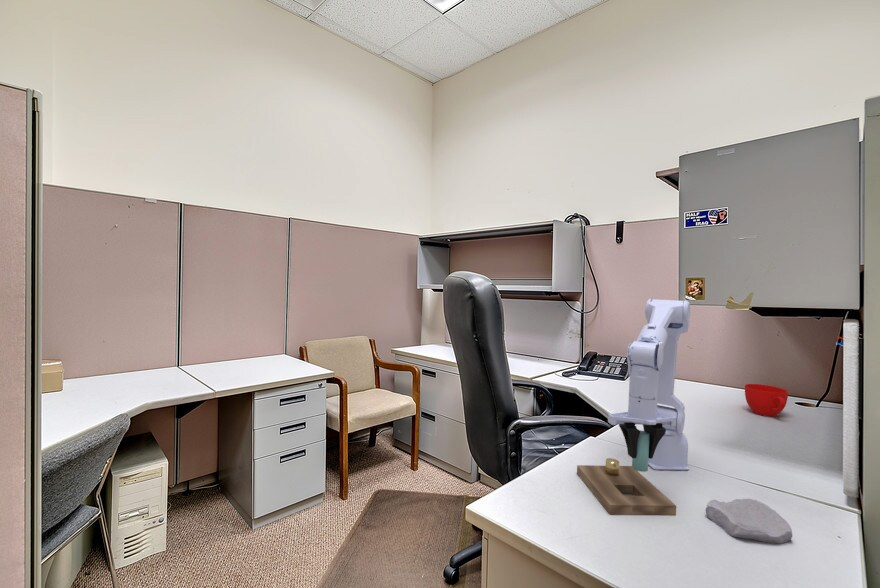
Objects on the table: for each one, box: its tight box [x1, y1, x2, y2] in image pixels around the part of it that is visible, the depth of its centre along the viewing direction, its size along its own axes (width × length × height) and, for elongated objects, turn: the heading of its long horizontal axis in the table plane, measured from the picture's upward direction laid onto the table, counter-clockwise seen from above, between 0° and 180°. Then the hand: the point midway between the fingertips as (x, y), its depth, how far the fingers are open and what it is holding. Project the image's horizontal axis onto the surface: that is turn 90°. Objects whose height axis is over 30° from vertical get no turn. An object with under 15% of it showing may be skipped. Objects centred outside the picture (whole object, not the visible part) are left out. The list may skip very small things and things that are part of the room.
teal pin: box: [631, 429, 650, 473], centre depth 90 cm, size 3×3×8 cm
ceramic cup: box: [744, 383, 789, 418], centre depth 153 cm, size 13×17×10 cm
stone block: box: [705, 498, 793, 545], centre depth 80 cm, size 12×5×10 cm
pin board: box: [576, 457, 677, 516], centre depth 93 cm, size 14×18×5 cm
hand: (640, 456), depth 90 cm, fingers closed on teal pin, 3 cm apart
